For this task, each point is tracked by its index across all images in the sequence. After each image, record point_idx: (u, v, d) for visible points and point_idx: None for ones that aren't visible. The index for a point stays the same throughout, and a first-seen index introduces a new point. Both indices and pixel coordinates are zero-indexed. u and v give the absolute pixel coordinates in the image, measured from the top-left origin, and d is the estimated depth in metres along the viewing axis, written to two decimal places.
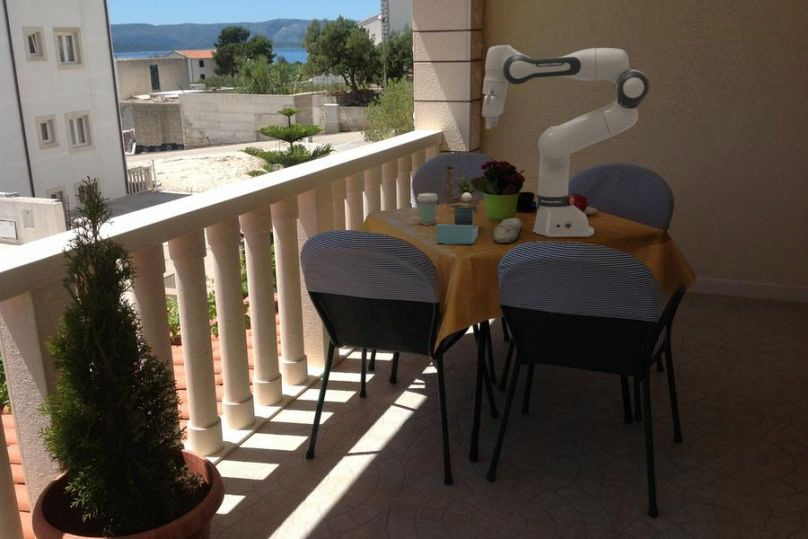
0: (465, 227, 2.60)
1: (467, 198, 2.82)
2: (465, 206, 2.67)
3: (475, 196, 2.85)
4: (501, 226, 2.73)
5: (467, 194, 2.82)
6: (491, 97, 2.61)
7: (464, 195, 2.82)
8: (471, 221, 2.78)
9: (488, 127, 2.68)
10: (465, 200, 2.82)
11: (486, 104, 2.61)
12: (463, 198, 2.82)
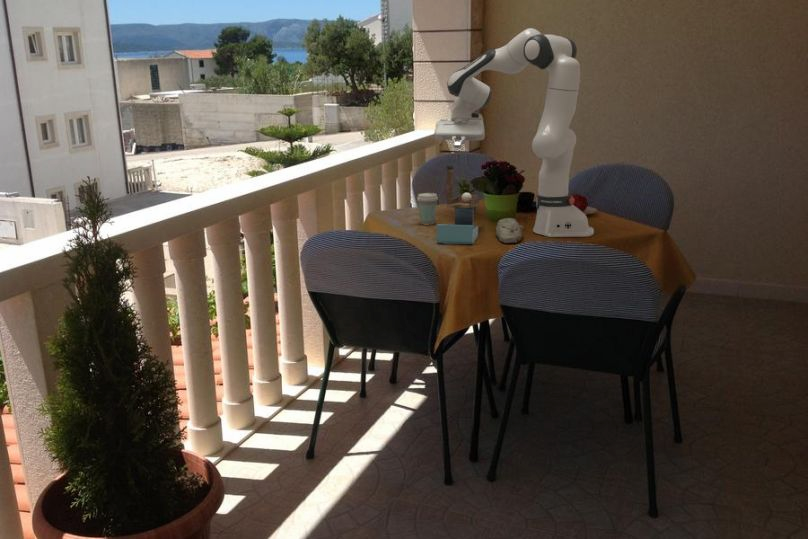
0: (465, 227, 2.60)
1: (467, 198, 2.82)
2: (465, 206, 2.67)
3: (475, 196, 2.85)
4: (503, 226, 2.72)
5: (467, 194, 2.82)
6: None
7: (464, 195, 2.82)
8: (471, 221, 2.78)
9: (454, 145, 2.92)
10: (465, 200, 2.82)
11: None
12: (463, 198, 2.82)
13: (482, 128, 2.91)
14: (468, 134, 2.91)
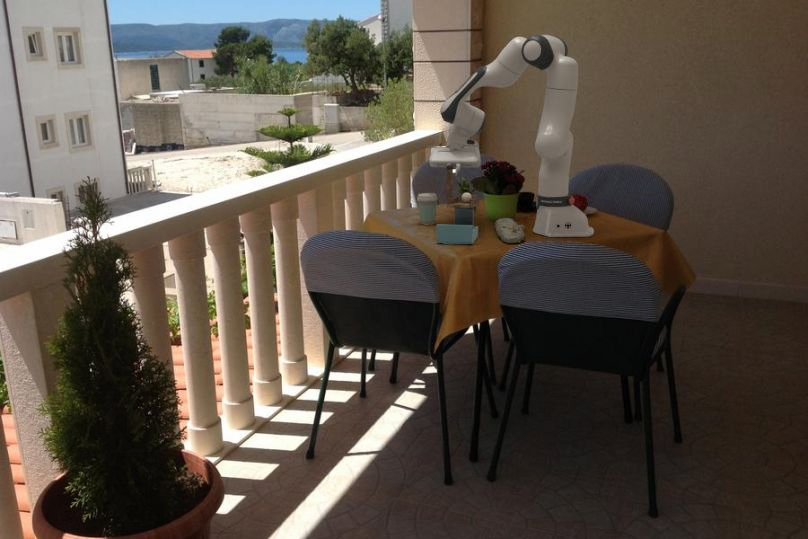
0: (465, 227, 2.60)
1: (467, 198, 2.82)
2: (465, 206, 2.67)
3: (475, 196, 2.85)
4: (504, 226, 2.72)
5: (467, 194, 2.82)
6: None
7: (464, 195, 2.82)
8: (471, 221, 2.78)
9: None
10: (465, 200, 2.82)
11: None
12: (463, 198, 2.82)
13: (478, 155, 2.84)
14: (463, 161, 2.84)
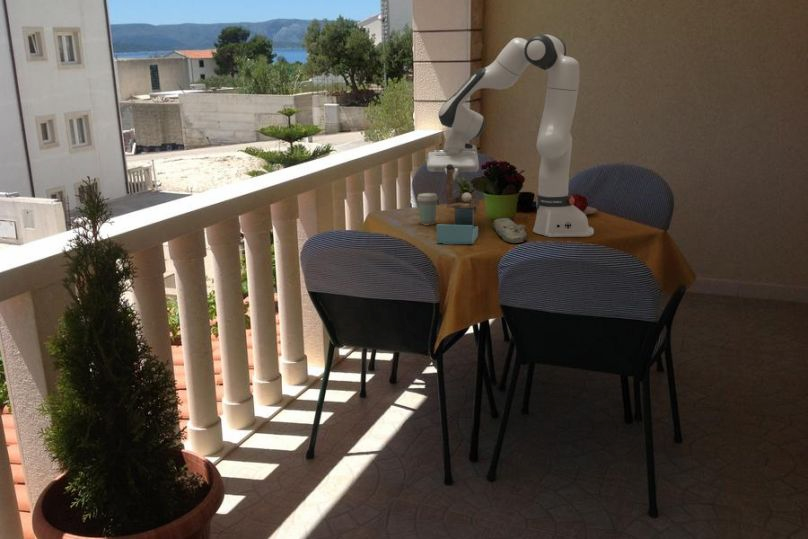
0: (465, 227, 2.60)
1: (467, 198, 2.82)
2: (465, 206, 2.67)
3: (475, 196, 2.85)
4: (504, 226, 2.72)
5: (467, 194, 2.82)
6: None
7: (464, 195, 2.82)
8: (471, 221, 2.78)
9: None
10: (465, 200, 2.82)
11: None
12: (463, 198, 2.82)
13: (476, 159, 2.79)
14: (461, 166, 2.80)
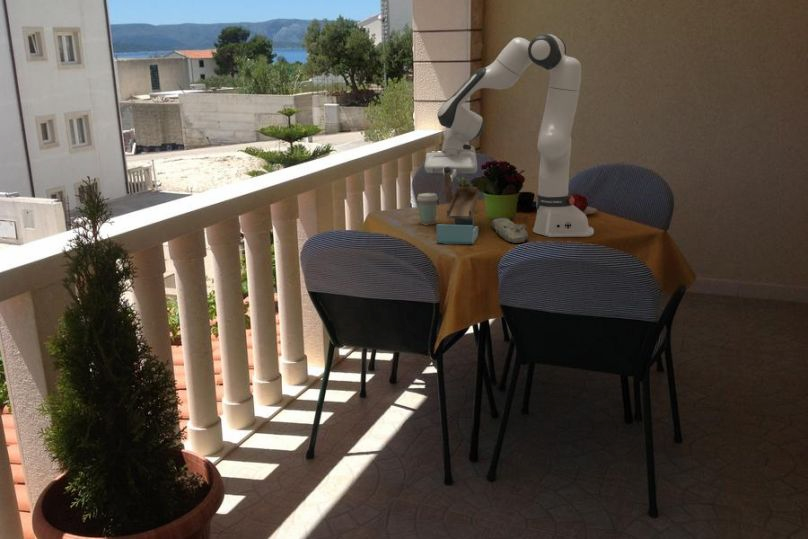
0: (465, 227, 2.60)
1: None
2: (465, 217, 2.69)
3: (475, 189, 2.83)
4: (505, 226, 2.72)
5: None
6: None
7: None
8: (471, 221, 2.78)
9: None
10: None
11: None
12: None
13: (474, 161, 2.76)
14: (460, 167, 2.77)
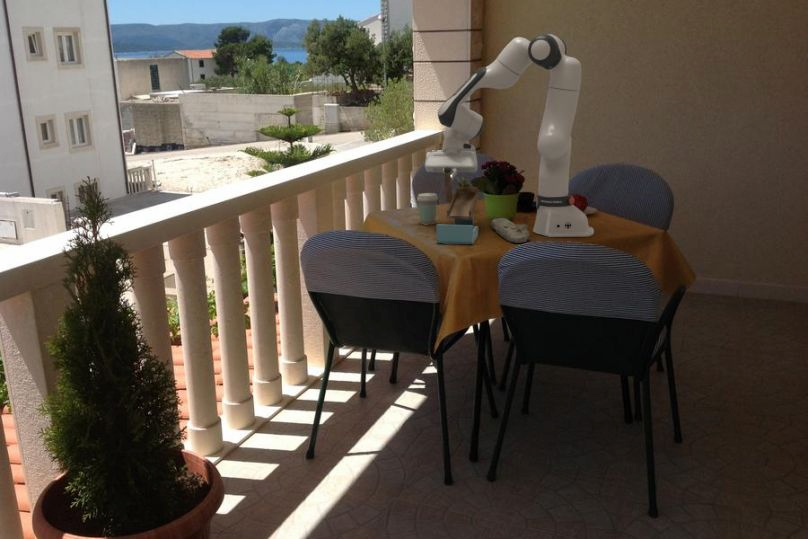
0: (465, 227, 2.60)
1: None
2: (465, 217, 2.69)
3: (475, 189, 2.83)
4: (505, 226, 2.72)
5: None
6: None
7: None
8: (471, 221, 2.78)
9: None
10: None
11: None
12: None
13: (475, 160, 2.76)
14: (460, 166, 2.77)
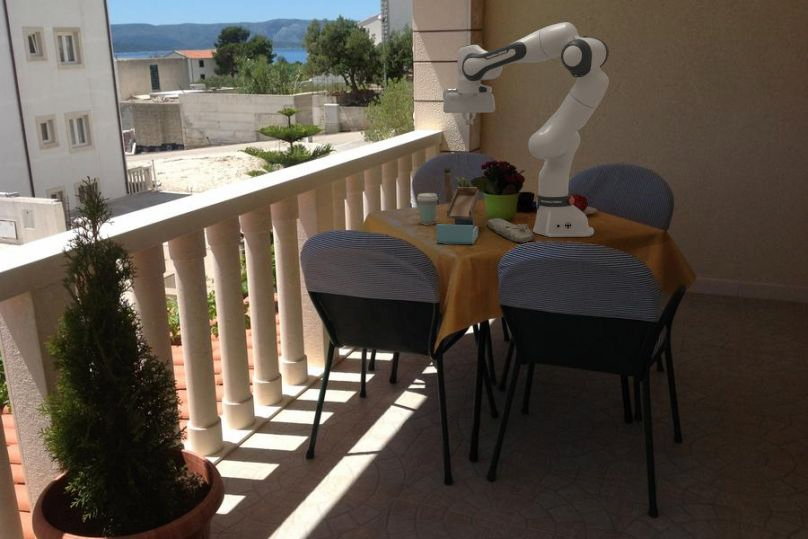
0: (465, 227, 2.60)
1: None
2: (465, 217, 2.69)
3: (475, 189, 2.83)
4: (507, 226, 2.72)
5: None
6: (446, 94, 2.86)
7: None
8: (471, 221, 2.78)
9: (465, 123, 2.88)
10: None
11: None
12: None
13: (492, 104, 2.82)
14: (478, 111, 2.84)
